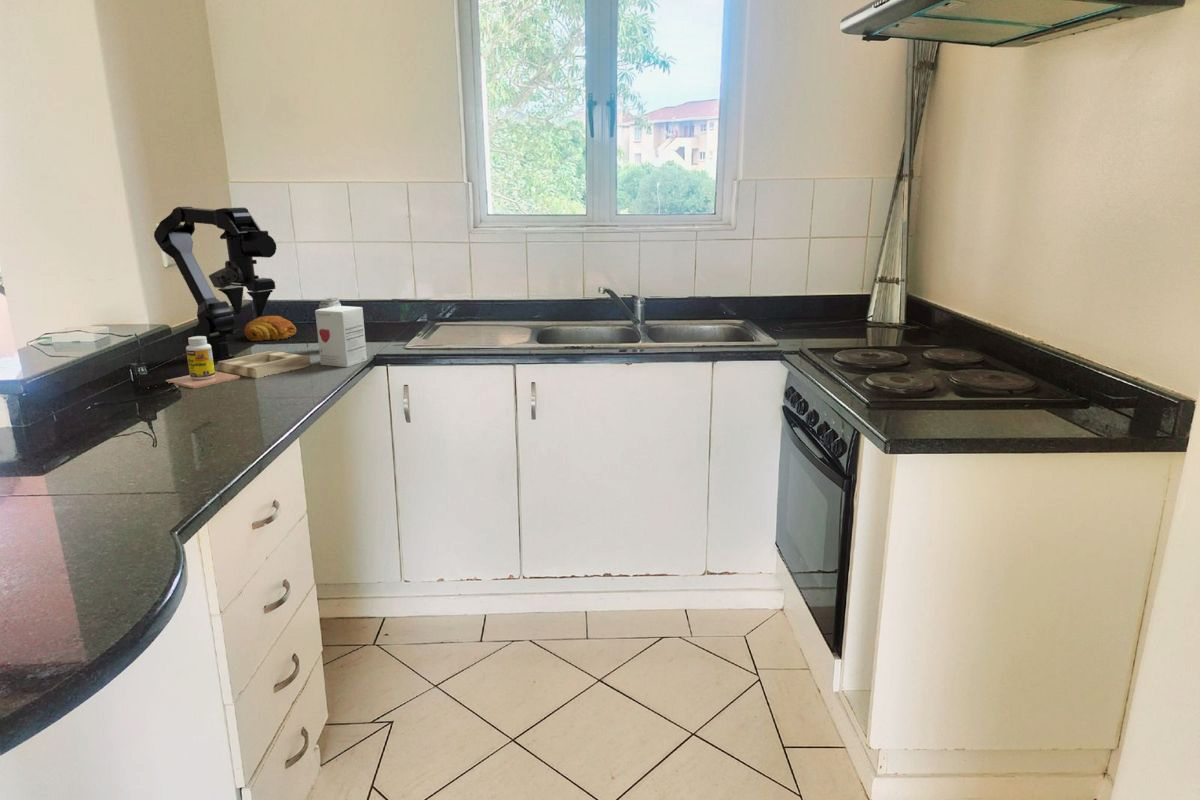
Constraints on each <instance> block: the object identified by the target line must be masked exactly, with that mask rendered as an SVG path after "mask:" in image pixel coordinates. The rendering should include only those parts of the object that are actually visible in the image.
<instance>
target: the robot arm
mask: <svg viewBox="0 0 1200 800" xmlns="http://www.w3.org/2000/svg"><path fill="white" fill-rule="evenodd" d="M182 223H184V224H182ZM195 224H203V225H204V224H205V225H213V226H215V227H216V228H218V229H221V230H224V231H223V233H221V235H220V237H219V239H221V240H225V242H226V248H227V255H228V256H227V257H228V260H226V261H225V263H224V267H223V268H221V269H219V270H216V271H214V272H213V273H210V274H209V275H208V278H209V280H210V282H211V284H212V286H213V287H214V288H215V289H216V288H217V291H219V292H221V293H222V294H224V295H225V296H226V297H227V299H228V301H229V302H230V304H229V303H228V302H227V300H223V301H222V300H219V299H218V298H217V297H216V295H215V294H214V291H213V289H212V288H211V286H210V284H209V282H208V279H207V278H206V277H205V274H204V272H203V270H202V268H201V267H200V265H199V262H198V261H197V258H196V257H195V255H194V252H193V244H194V241H193V238H192V236H193V234H194V232H195V230H196V228H195ZM153 232H154V233H153V237H154V240H155V242H156V244H157V245H158V246H159V248H160V249H161V251H162V252H163V253H165V254H166V255H168V256H169V257H170V258H172V259H173V261H174V262H175V265H176V266H177V268H178V270H179V272H180V274H181V275H182V278H183V279H184V281H185V283H186V285H187V287H188V289H189V291H190V293H191V295H192V296H193V299H194V300H195V302H196V304H197V311H196V318H197V319H198V323H197V324H196V326H195V328H194V329H193V334H194V335H193V336H194V337H195V336H205V337H206V339H207V343H206V344H210V345H211V349H212V356H213V362H218V361H223V360H228V359H232V358H236V357H235V354H232V353H231V354H230V350H229V349H230V348H229V343H228V338H227V336H231V335H233V334H234V328H235V321H236V319H235V317H234V314H236V315H240V314H241V311H242V304H243V298H244V297H243V295H244V288H246V290H247V292H246V293H247V294H248V295H249V296H250V297H251V299H252V303H253V307H254V308H253V309H254V311H255V315H256V317H257V318H260V317H262V316H263V312H264V310H265V307H266V304H267V302H268V300H269V298H270V295H271V293H273V292H274V290H276V281H275V280H273V279H272V278H270V277H269V278H268V277H261V278H259V275H258V274H255V267H254V265H257V263H258V262H257V259H254V258H272V257H273V256H274V255H275V254H276V252H277V243H276V242H275V239H274V238H273V237H272V236H270V235H269V231H268V230H262V229H261V227H260V226H259V225H258V223H257V221H255V219H254V217H253V215H252V214H251V213H250V211H249V209H248V208H247V207H221V208H217V209H212V208H199V207H193V206H176V207H175V208H173V210H172V211H171V212H170V214H169V215H168V216H166V217H164V218H163V219H162V220H161V221H160V222H159V224H158V225H157V227H156V228H155V230H154V231H153ZM230 305H231V307H232V309H233V311H234V312H235V313H234V312H233V311H232V309H231V307H230Z"/></svg>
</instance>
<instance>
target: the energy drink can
mask: <svg viewBox="0 0 1200 800" xmlns="http://www.w3.org/2000/svg"><path fill="white" fill-rule="evenodd" d="M332 306H342V304H341V302H340V300H339V298H337V297H327V298H326V297H325V298H321V299H320V302H319V305H318V309H323V308H328V307H332Z"/></svg>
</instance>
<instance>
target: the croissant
mask: <svg viewBox="0 0 1200 800" xmlns="http://www.w3.org/2000/svg"><path fill="white" fill-rule="evenodd" d="M243 329H244V334H245V336H246V339H248V340H250V341H252V342H261V341H262V342H264V341H263V340H270V341H272V340H271V339H274V340H276V341H280V340H279V339H282V340H285V339H284V338H286V339H289V338H288V337H290V338H292V337H294V336H295V335H296V333H297V328H296V326H295V325H294V324H293V323H292V321H290V320H288V319H286V318H284V317H282V315H281V316H280V315H266V316H265V315H263V316H261V317H257V318H255V319H252V320H251V321H249V322H247V324H246V325H245V327H244V328H243ZM293 335H294V336H293ZM291 336H292V337H291Z"/></svg>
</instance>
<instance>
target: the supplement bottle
mask: <svg viewBox="0 0 1200 800" xmlns="http://www.w3.org/2000/svg"><path fill="white" fill-rule="evenodd" d="M187 340H188V345H186V347H185V351H186V357H187V364H188V365H187V366H188V370H189V375H190V377H191V378H192V379H194V380H204V379H210V378H213V377H214V376H215V371H216V370H215V363H214V361H213V356H212V349H211V345H210V344H206V343H207V339H206V337H205V336H195V335H194V336H191V337H188V339H187Z"/></svg>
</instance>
